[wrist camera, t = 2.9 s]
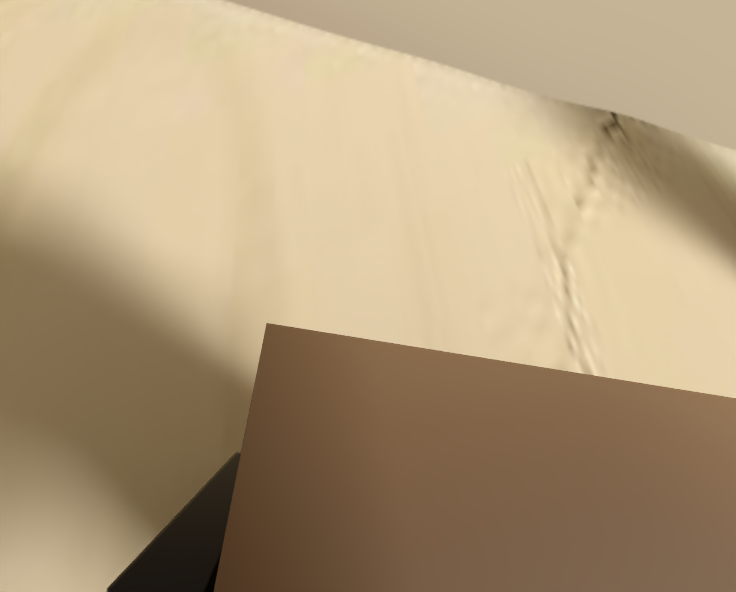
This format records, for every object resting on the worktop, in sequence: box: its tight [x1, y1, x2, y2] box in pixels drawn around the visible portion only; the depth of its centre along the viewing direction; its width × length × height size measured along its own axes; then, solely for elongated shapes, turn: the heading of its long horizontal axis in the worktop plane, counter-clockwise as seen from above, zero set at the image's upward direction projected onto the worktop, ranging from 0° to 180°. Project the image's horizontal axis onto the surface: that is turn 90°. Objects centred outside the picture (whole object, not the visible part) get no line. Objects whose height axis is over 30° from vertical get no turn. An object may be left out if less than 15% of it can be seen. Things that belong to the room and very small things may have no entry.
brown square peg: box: [214, 323, 736, 592], centre depth 8 cm, size 4×4×13 cm
